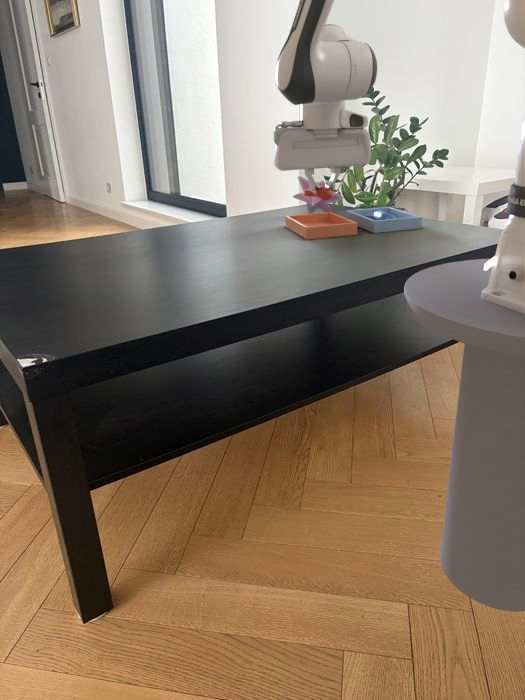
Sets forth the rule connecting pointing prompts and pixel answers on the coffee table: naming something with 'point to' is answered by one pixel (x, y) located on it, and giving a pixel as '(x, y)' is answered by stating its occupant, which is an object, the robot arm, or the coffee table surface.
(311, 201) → the lily
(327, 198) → the red spoon
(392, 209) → the blue tray
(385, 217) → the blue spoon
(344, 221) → the orange tray
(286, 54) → the robot arm
